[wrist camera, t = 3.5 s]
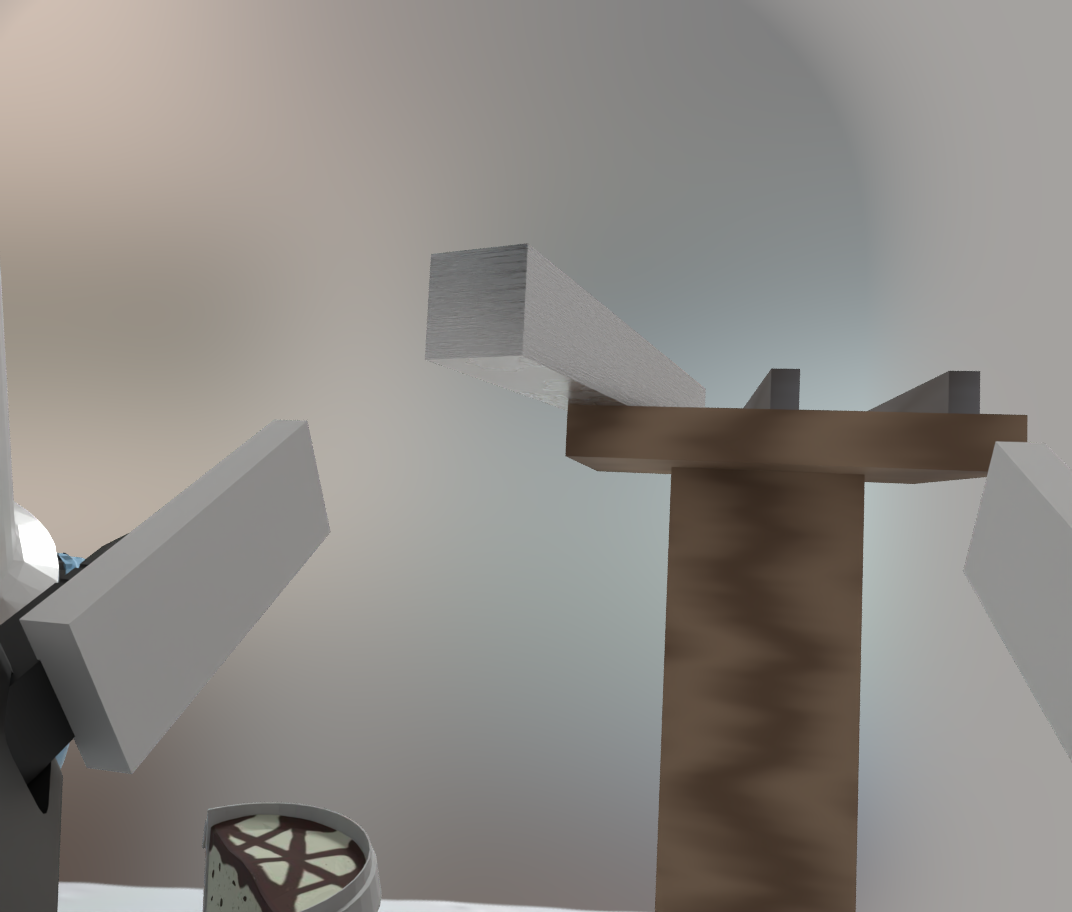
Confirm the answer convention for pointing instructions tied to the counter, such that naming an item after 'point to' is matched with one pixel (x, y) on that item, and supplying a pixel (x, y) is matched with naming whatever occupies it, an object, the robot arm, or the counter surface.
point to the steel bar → (542, 334)
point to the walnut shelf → (772, 621)
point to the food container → (287, 860)
